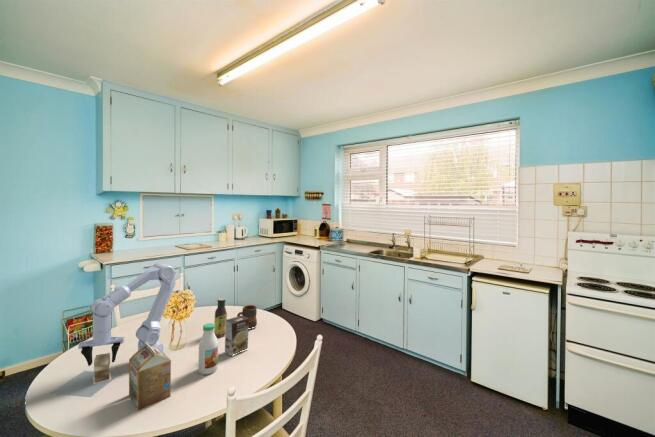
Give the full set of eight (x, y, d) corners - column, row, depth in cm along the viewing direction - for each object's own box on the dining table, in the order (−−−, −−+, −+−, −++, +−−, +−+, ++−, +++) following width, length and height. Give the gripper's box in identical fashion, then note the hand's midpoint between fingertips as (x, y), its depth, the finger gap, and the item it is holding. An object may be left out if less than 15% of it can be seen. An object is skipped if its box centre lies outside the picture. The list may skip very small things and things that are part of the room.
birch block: (110, 363, 120) (110, 352, 120) (108, 369, 116) (108, 358, 116) (96, 365, 118) (96, 355, 117) (94, 371, 114) (93, 360, 114)
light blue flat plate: (121, 374, 121) (121, 373, 121) (90, 398, 106) (90, 396, 106) (85, 371, 122) (85, 370, 122) (49, 394, 107) (49, 393, 107)
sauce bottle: (218, 338, 155) (219, 302, 153) (211, 335, 158) (211, 299, 157) (228, 334, 160) (229, 298, 159) (221, 331, 163) (222, 296, 162)
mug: (233, 328, 168) (233, 308, 167) (251, 322, 176) (252, 303, 176) (240, 333, 162) (240, 312, 161) (259, 327, 170) (260, 307, 170)
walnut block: (108, 373, 120) (108, 363, 120) (109, 379, 117) (109, 368, 117) (94, 377, 117) (94, 366, 117) (94, 383, 114) (94, 372, 114)
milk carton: (170, 396, 109) (170, 347, 108) (137, 410, 101) (138, 357, 100) (160, 383, 116) (160, 337, 115) (129, 396, 108) (129, 346, 107)
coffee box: (231, 357, 138) (232, 323, 137) (224, 352, 142) (225, 319, 141) (248, 349, 145) (249, 318, 144) (240, 345, 149) (241, 314, 148)
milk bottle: (197, 376, 122) (197, 329, 121) (199, 366, 129) (200, 321, 128) (216, 374, 124) (217, 328, 123) (218, 364, 131) (219, 320, 130)
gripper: (126, 323, 123) (126, 354, 123) (83, 327, 117) (83, 360, 118) (121, 330, 116) (121, 363, 117) (76, 335, 110) (76, 370, 111)
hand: (102, 362), depth 117 cm, fingers open, 7 cm apart
